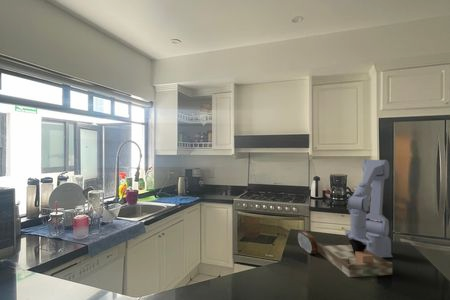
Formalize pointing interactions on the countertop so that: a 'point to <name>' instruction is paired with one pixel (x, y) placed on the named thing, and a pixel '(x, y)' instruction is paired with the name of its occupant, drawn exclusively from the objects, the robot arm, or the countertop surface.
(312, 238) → the tin
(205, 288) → the countertop surface
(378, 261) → the mottled shallow tray
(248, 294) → the countertop surface
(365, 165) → the robot arm
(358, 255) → the block
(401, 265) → the countertop surface
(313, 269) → the countertop surface
